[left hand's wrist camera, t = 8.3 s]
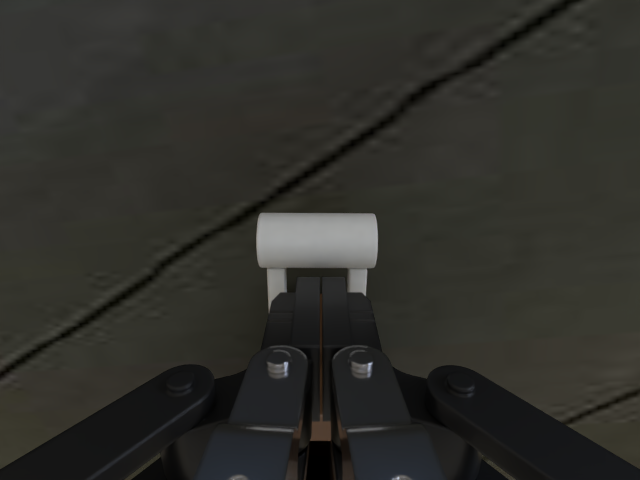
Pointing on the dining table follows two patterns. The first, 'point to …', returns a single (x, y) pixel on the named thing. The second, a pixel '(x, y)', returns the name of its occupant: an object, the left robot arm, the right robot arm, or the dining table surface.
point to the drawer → (317, 252)
